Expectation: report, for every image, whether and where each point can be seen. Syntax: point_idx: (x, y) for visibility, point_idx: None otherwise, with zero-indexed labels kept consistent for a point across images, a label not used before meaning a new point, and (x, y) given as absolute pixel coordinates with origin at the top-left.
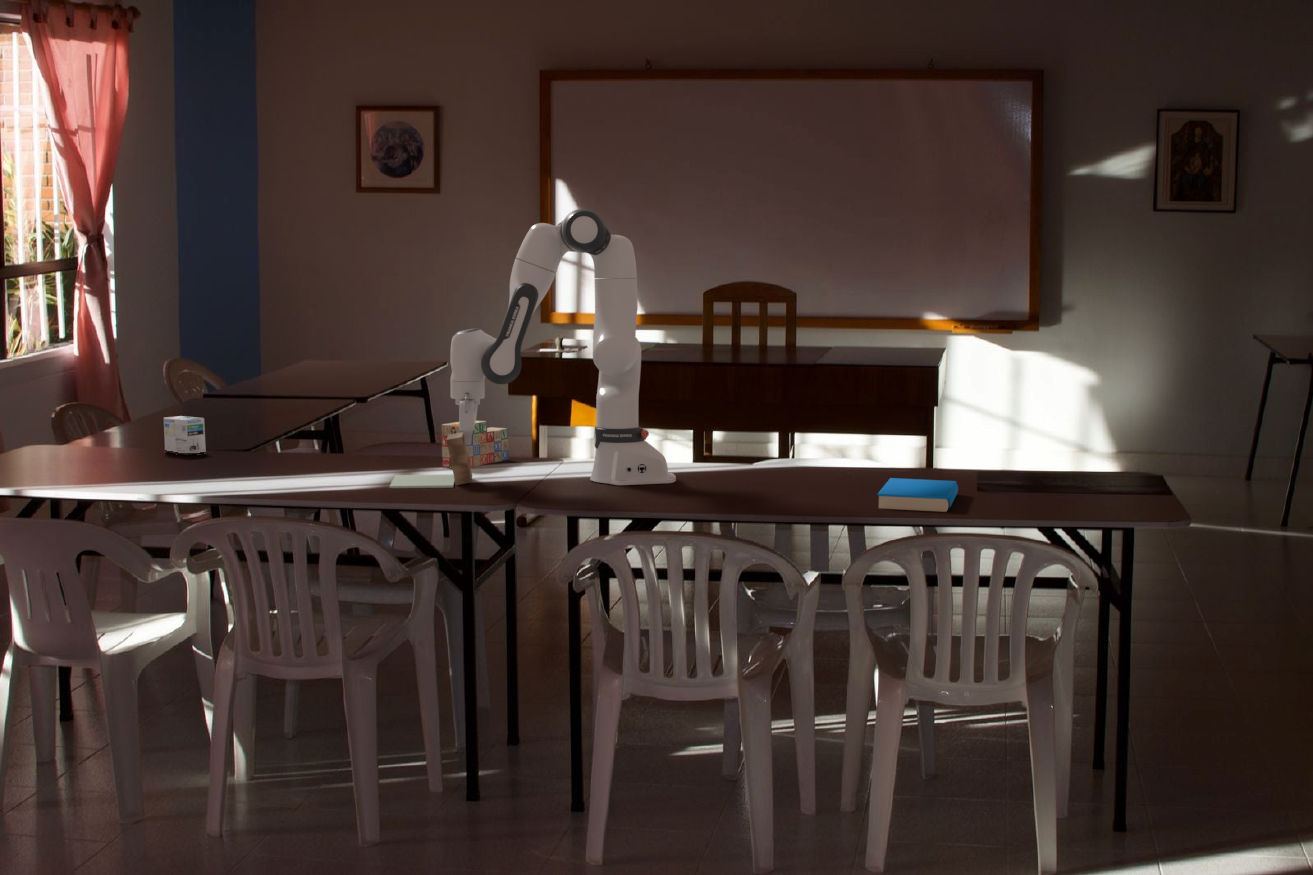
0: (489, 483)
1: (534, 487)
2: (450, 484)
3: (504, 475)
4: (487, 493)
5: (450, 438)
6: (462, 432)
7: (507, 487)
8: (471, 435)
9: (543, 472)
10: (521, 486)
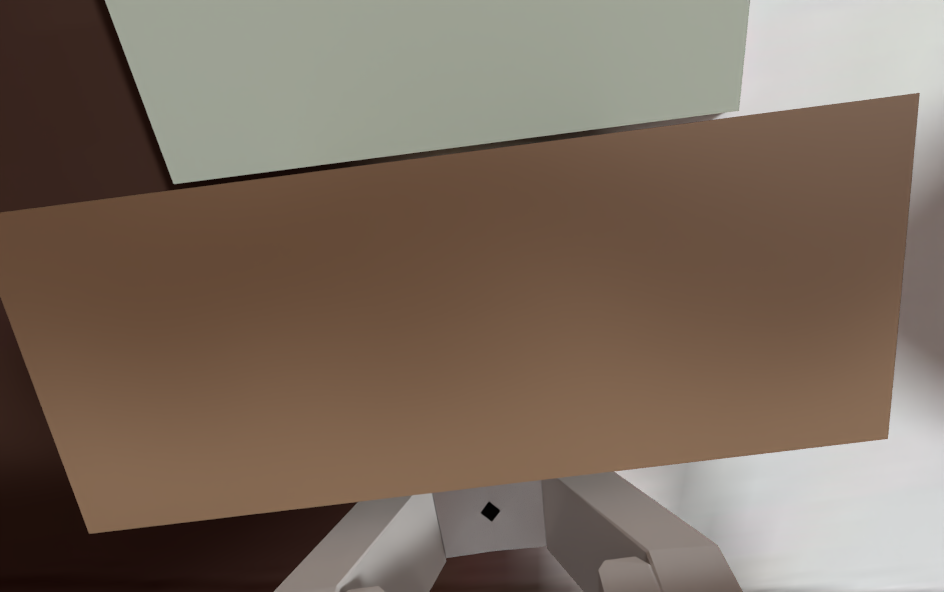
0: None
1: None
2: (207, 155)
3: None
4: (38, 425)
5: (126, 292)
6: (830, 433)
7: None
8: (568, 567)
9: (800, 566)
10: None
